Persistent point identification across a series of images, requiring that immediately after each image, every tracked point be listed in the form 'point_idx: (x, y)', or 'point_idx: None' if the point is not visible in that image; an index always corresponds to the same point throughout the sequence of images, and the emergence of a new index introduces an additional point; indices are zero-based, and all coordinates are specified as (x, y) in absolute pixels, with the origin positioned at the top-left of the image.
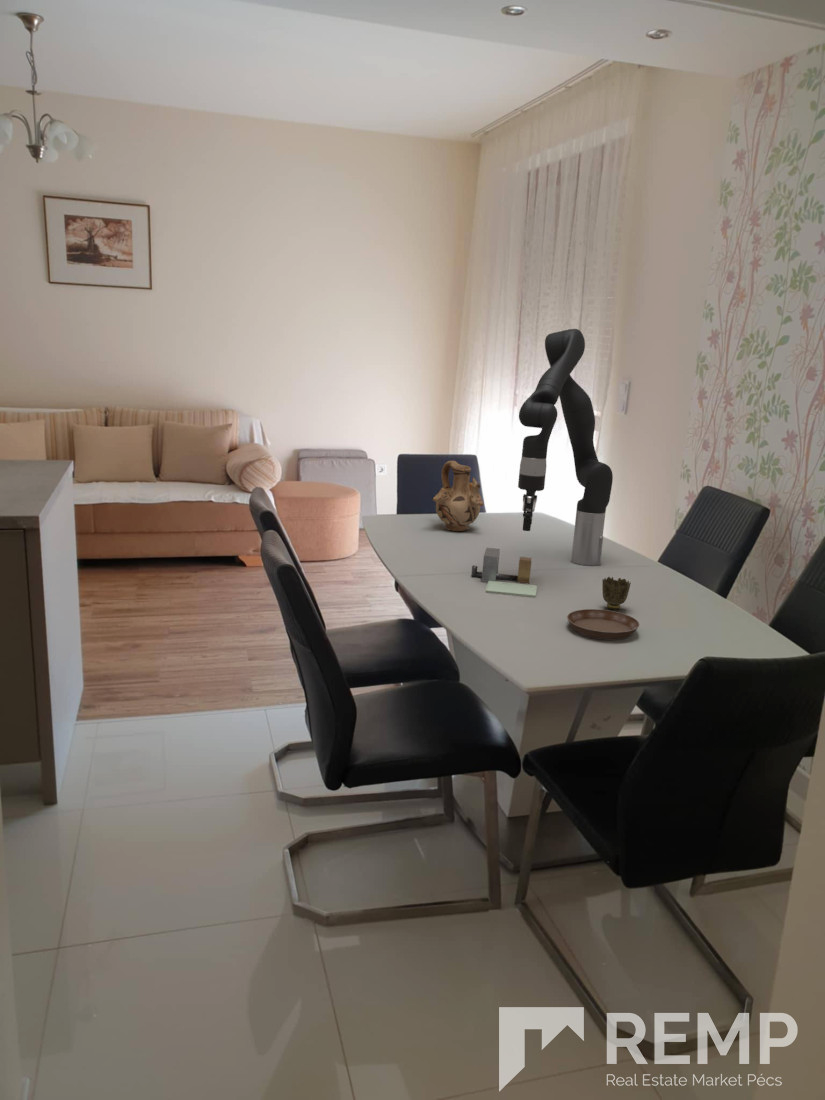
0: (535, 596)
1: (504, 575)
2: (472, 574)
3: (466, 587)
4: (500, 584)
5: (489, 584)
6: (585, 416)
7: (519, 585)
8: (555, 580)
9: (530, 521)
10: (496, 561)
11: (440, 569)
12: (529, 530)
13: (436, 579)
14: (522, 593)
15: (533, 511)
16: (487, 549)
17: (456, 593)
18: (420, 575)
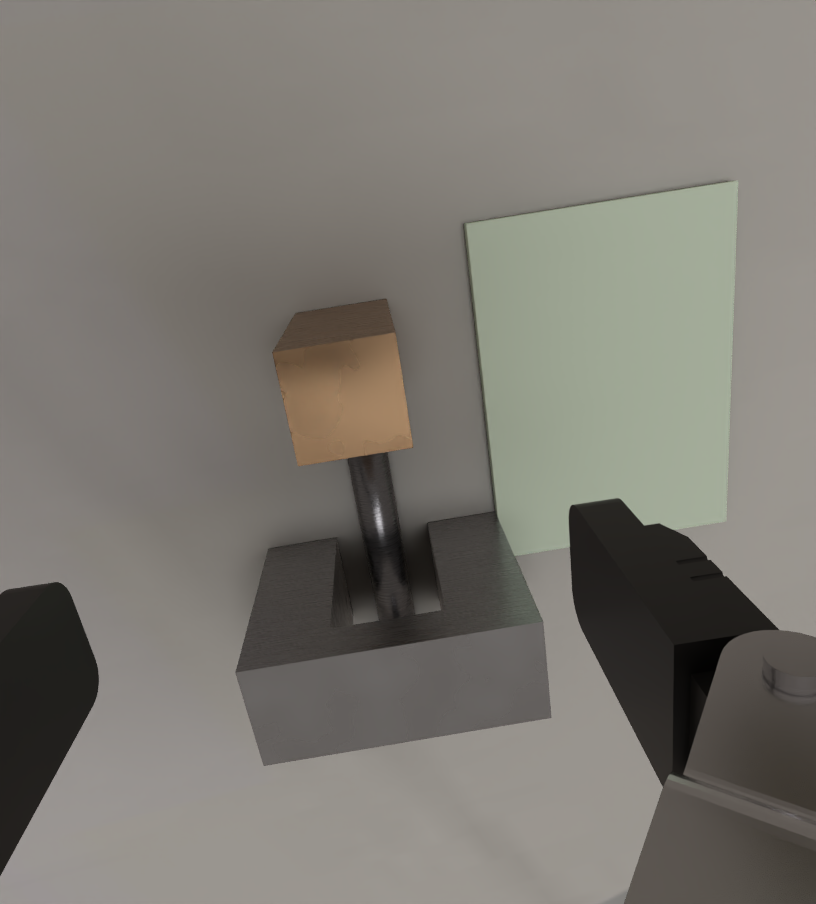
0: (732, 183)
1: (386, 494)
2: None
3: None
4: (557, 472)
5: None
6: None
7: (525, 349)
8: (163, 100)
9: (697, 604)
10: (531, 602)
11: (355, 830)
12: (617, 506)
13: (562, 790)
14: (719, 288)
15: (715, 786)
16: (326, 744)
17: None
18: (523, 865)
